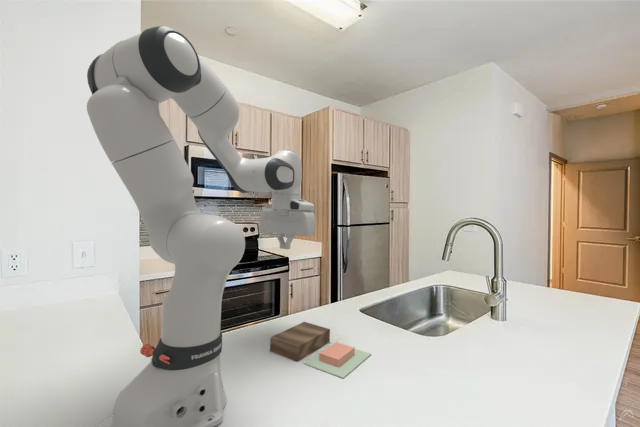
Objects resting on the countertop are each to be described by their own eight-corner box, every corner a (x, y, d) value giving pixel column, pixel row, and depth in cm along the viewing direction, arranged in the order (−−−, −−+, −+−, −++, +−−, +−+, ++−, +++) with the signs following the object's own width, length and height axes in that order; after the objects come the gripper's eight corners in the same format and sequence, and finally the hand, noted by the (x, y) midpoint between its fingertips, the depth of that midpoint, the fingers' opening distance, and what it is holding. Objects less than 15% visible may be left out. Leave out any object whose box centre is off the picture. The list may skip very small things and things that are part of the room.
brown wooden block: (297, 361, 83) (298, 346, 83) (269, 351, 89) (270, 337, 89) (329, 341, 97) (330, 329, 97) (303, 333, 102) (304, 321, 102)
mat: (343, 378, 76) (343, 377, 76) (303, 363, 82) (303, 362, 82) (371, 354, 89) (371, 353, 89) (335, 343, 96) (335, 342, 96)
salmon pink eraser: (319, 353, 84) (318, 360, 84) (338, 359, 80) (338, 367, 80) (336, 342, 91) (336, 348, 91) (354, 347, 88) (354, 354, 88)
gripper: (255, 203, 100) (253, 246, 100) (306, 204, 88) (304, 253, 89) (269, 204, 105) (267, 245, 105) (318, 205, 94) (317, 251, 94)
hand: (284, 248), depth 97 cm, fingers closed
